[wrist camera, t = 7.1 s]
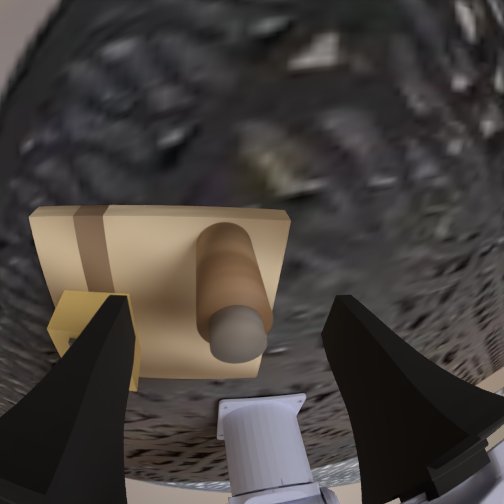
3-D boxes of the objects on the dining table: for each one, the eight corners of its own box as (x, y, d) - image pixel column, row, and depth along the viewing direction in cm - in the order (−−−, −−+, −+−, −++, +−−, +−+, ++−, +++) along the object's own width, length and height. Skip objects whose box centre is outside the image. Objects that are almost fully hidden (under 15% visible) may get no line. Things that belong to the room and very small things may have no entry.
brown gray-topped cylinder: (248, 269, 15) (272, 367, 10) (196, 269, 14) (198, 371, 9) (254, 222, 13) (286, 316, 8) (196, 221, 13) (196, 318, 8)
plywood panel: (254, 364, 21) (256, 376, 20) (86, 359, 19) (83, 371, 18) (284, 210, 15) (290, 220, 14) (39, 206, 12) (28, 216, 11)
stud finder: (141, 352, 17) (136, 395, 14) (85, 348, 16) (75, 388, 14) (129, 293, 15) (118, 340, 12) (64, 290, 14) (44, 333, 11)
